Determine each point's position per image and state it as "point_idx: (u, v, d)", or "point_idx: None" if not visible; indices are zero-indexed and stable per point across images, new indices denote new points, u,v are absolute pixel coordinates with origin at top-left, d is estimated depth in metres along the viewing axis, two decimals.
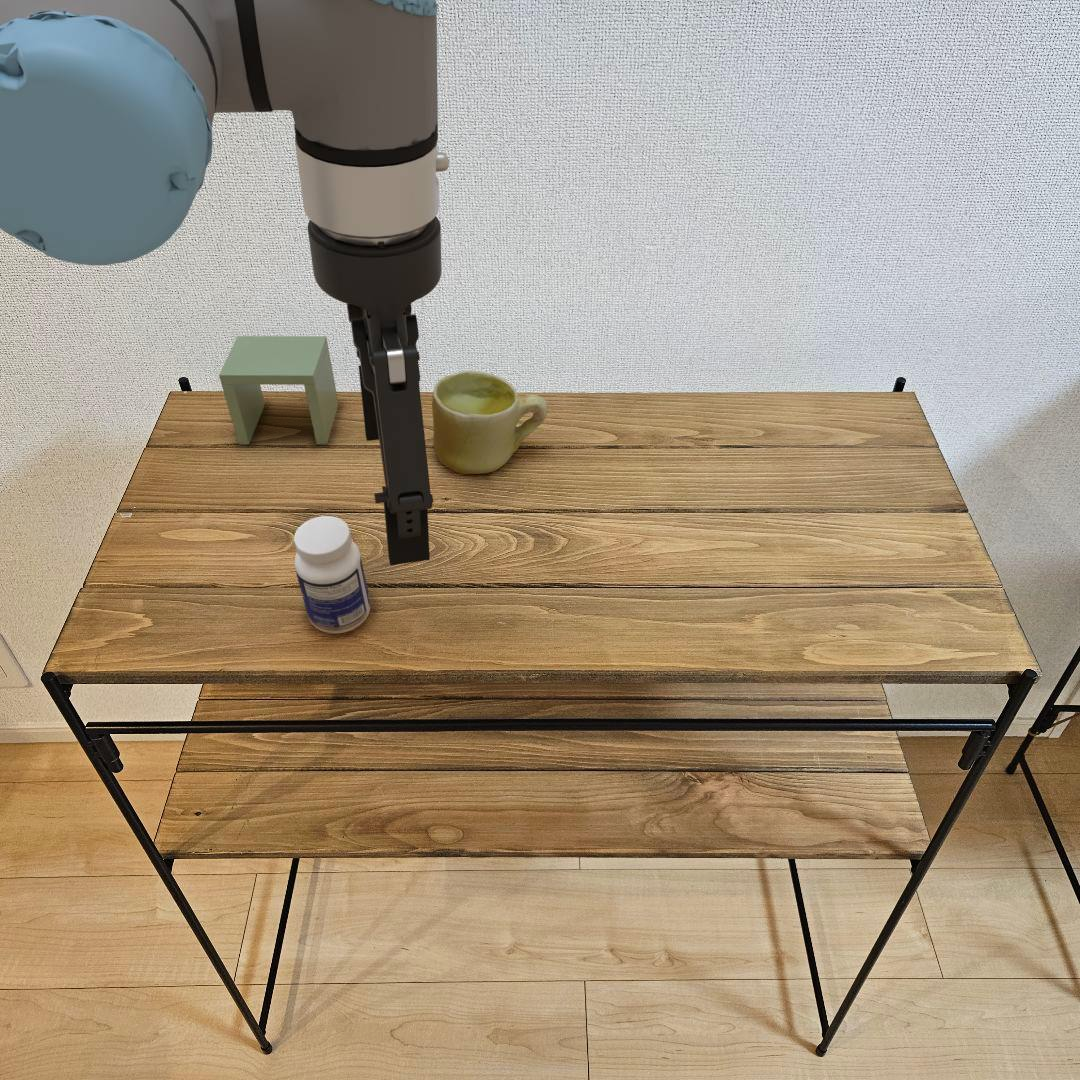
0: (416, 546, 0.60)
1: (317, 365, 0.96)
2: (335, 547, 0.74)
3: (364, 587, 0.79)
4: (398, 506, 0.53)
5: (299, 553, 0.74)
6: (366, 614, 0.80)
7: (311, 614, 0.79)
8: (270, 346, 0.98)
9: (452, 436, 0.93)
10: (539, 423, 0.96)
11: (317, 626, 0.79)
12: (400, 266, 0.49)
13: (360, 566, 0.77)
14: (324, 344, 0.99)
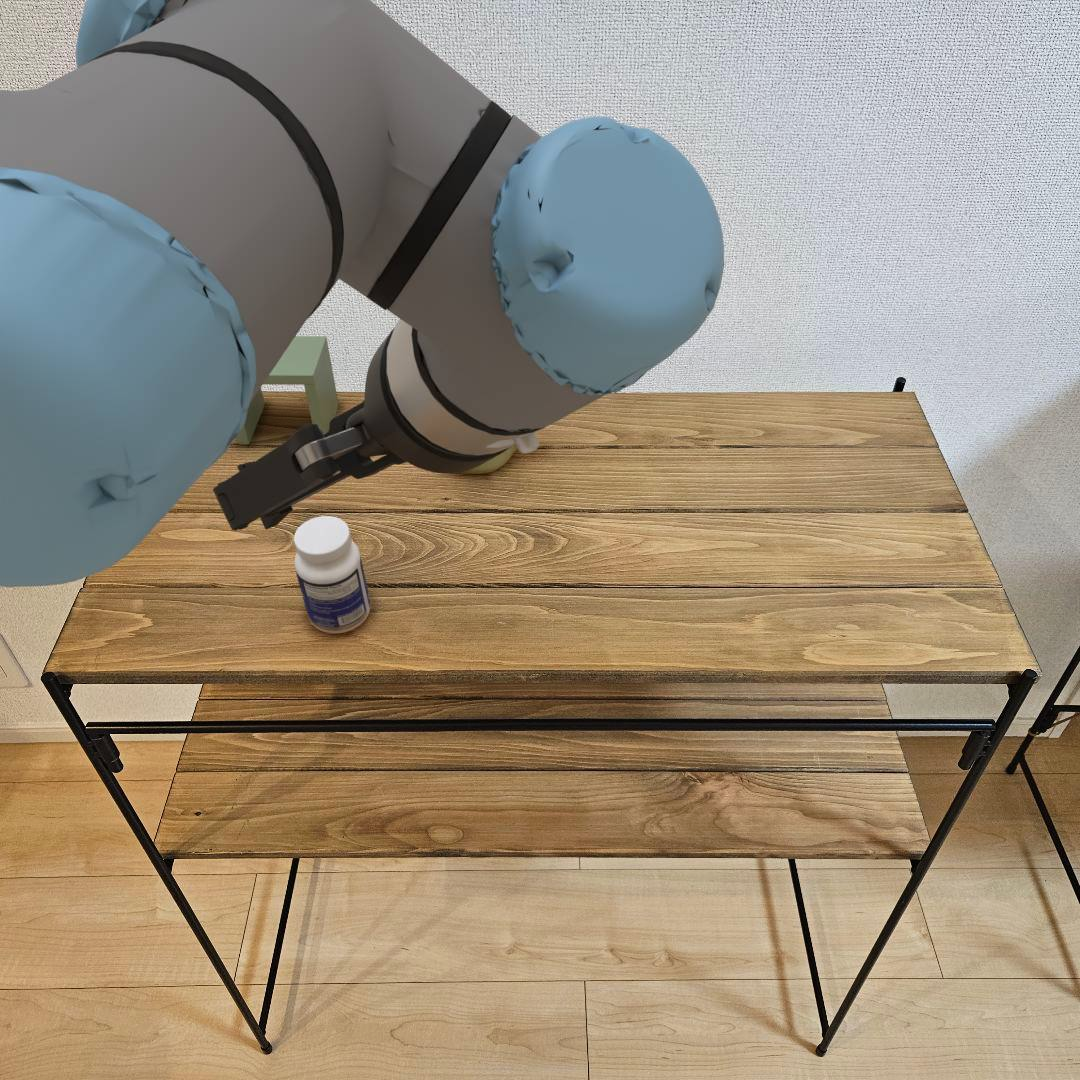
0: None
1: (317, 365, 0.96)
2: (335, 547, 0.74)
3: (364, 587, 0.79)
4: (217, 495, 0.47)
5: (299, 553, 0.74)
6: (366, 614, 0.80)
7: (311, 614, 0.79)
8: None
9: None
10: None
11: (317, 626, 0.79)
12: (395, 430, 0.39)
13: (360, 566, 0.77)
14: (324, 344, 0.99)
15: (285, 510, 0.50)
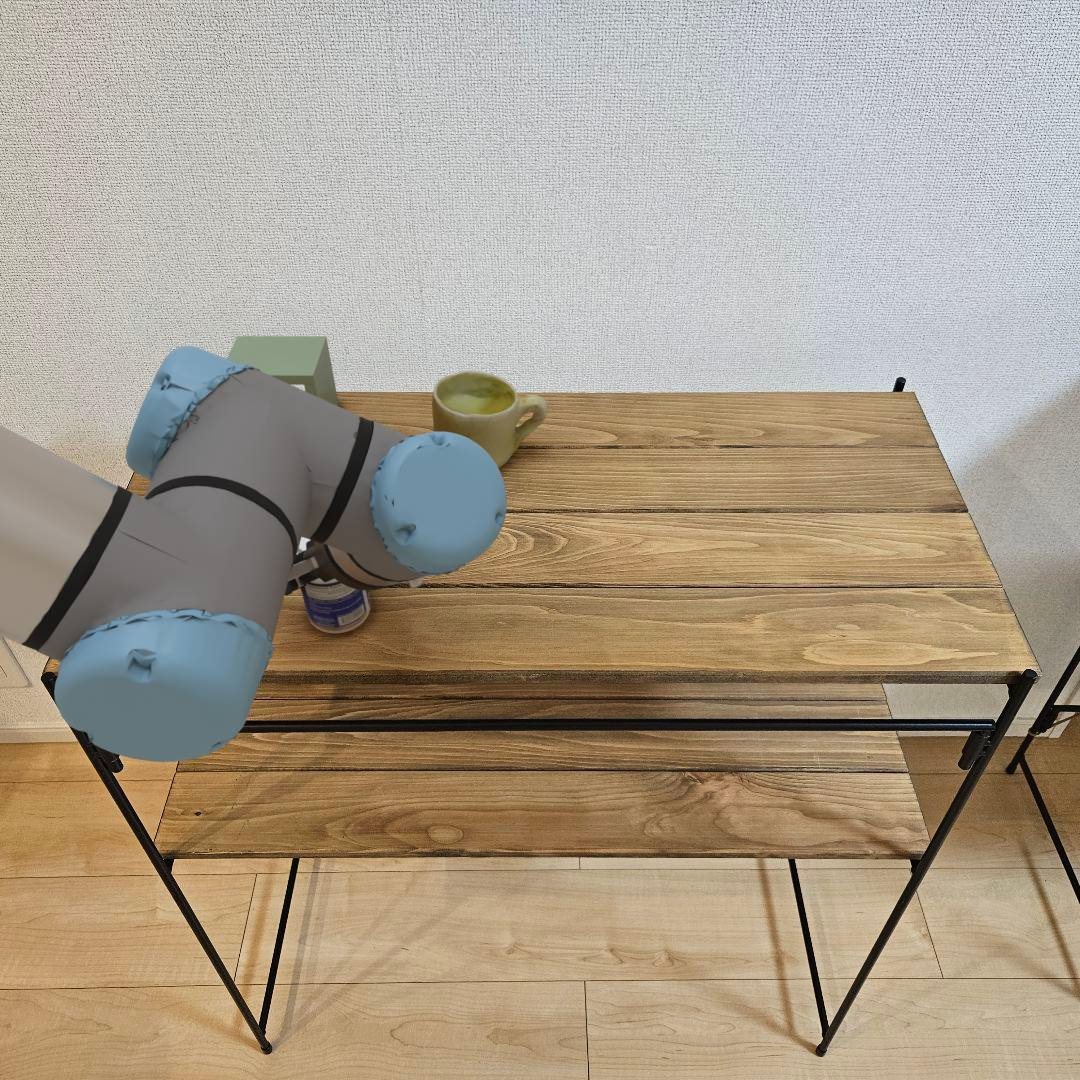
0: None
1: (317, 365, 0.96)
2: None
3: None
4: None
5: None
6: (366, 614, 0.80)
7: (311, 614, 0.79)
8: (270, 346, 0.98)
9: None
10: (539, 423, 0.96)
11: (317, 626, 0.79)
12: (332, 568, 0.60)
13: None
14: (324, 344, 0.99)
15: (301, 585, 0.74)
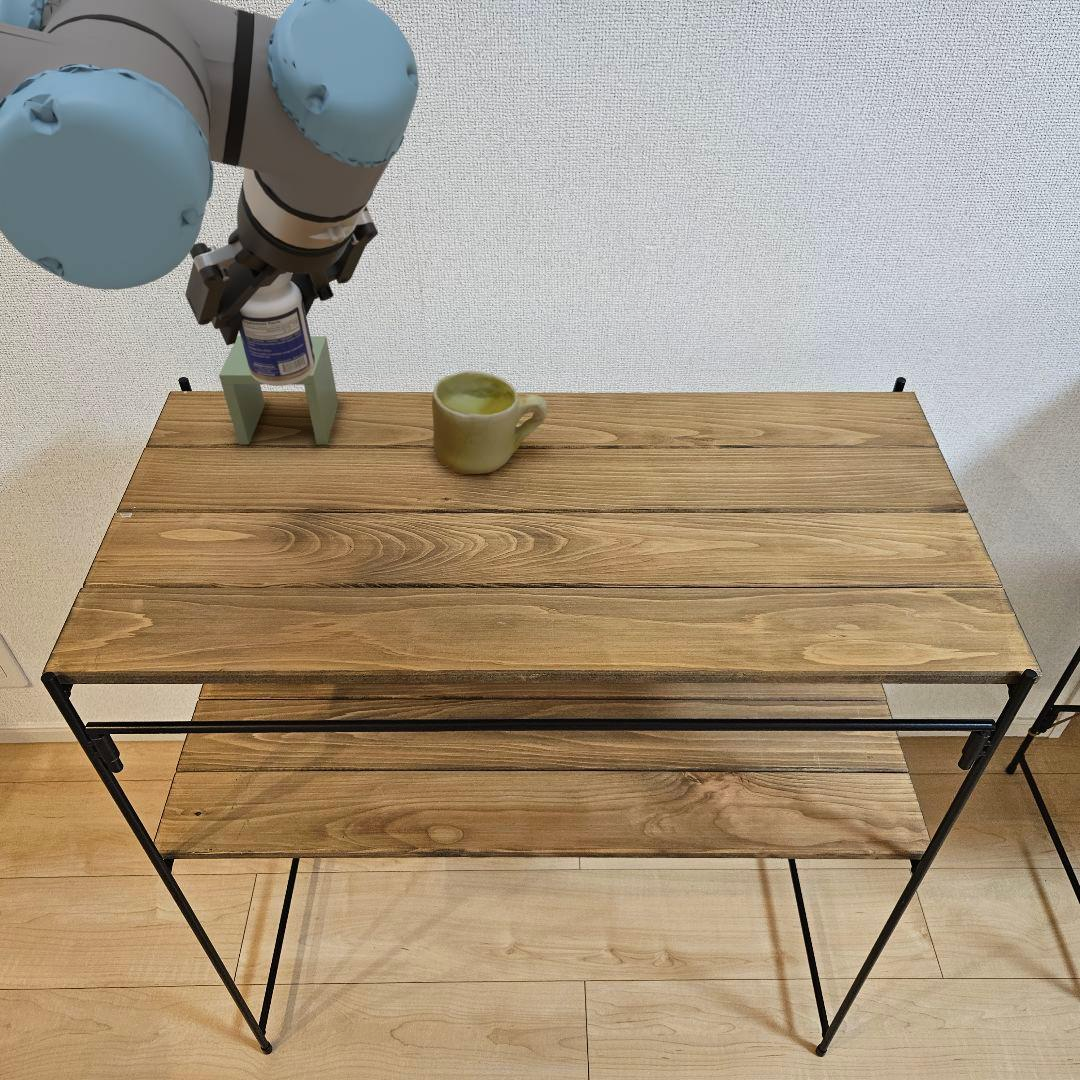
0: (224, 331, 0.76)
1: (317, 365, 0.96)
2: None
3: (307, 335, 0.76)
4: (188, 298, 0.69)
5: None
6: (310, 368, 0.77)
7: (251, 363, 0.76)
8: None
9: (452, 436, 0.93)
10: (539, 423, 0.96)
11: (258, 377, 0.76)
12: (253, 232, 0.57)
13: (301, 307, 0.74)
14: (324, 344, 0.99)
15: (237, 317, 0.71)
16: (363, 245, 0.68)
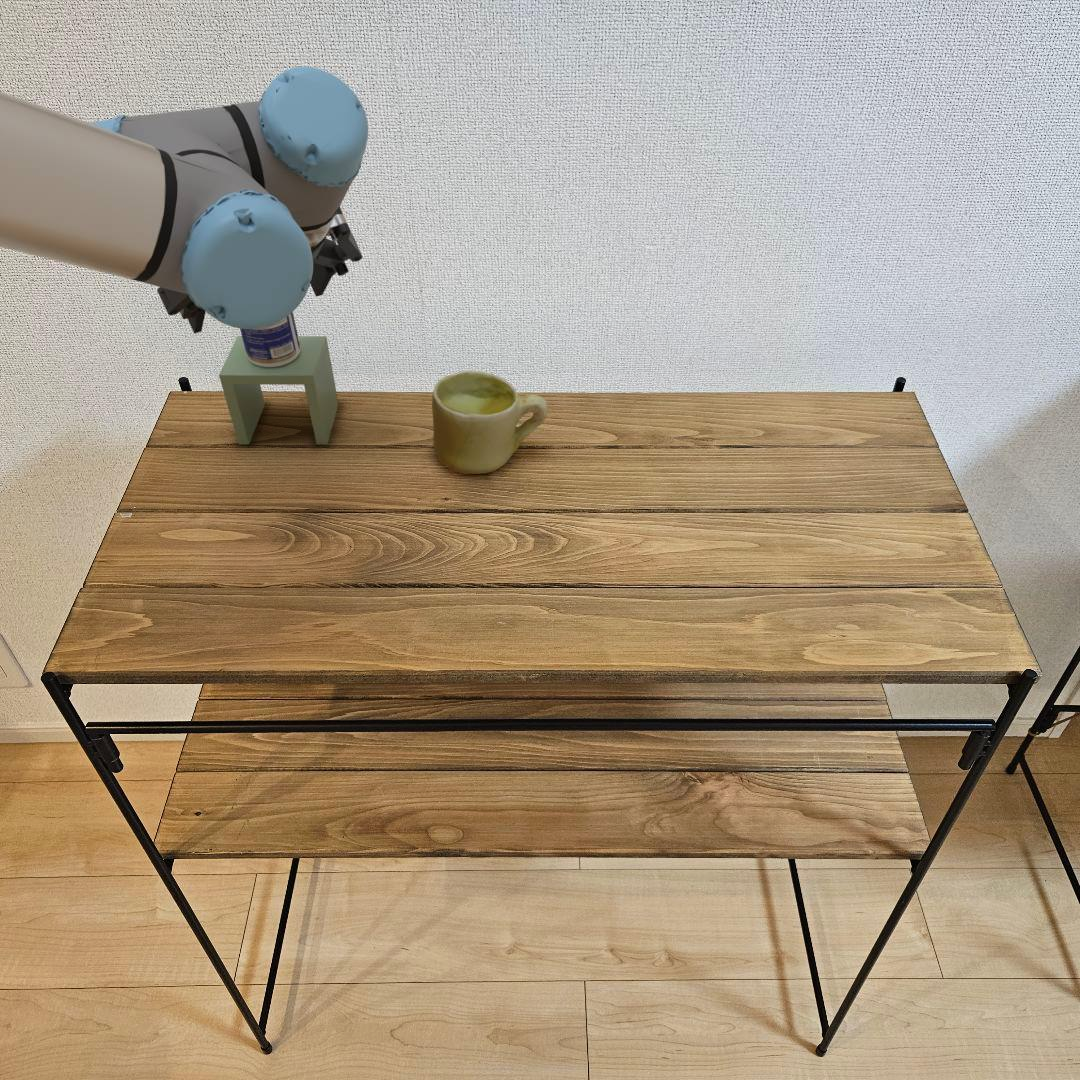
0: (191, 321, 0.90)
1: (317, 365, 0.96)
2: None
3: (293, 326, 0.94)
4: (159, 293, 0.83)
5: None
6: (296, 353, 0.95)
7: (248, 349, 0.94)
8: None
9: (452, 436, 0.93)
10: (539, 423, 0.96)
11: (254, 360, 0.94)
12: None
13: None
14: (324, 344, 0.99)
15: (201, 309, 0.86)
16: (346, 239, 0.84)
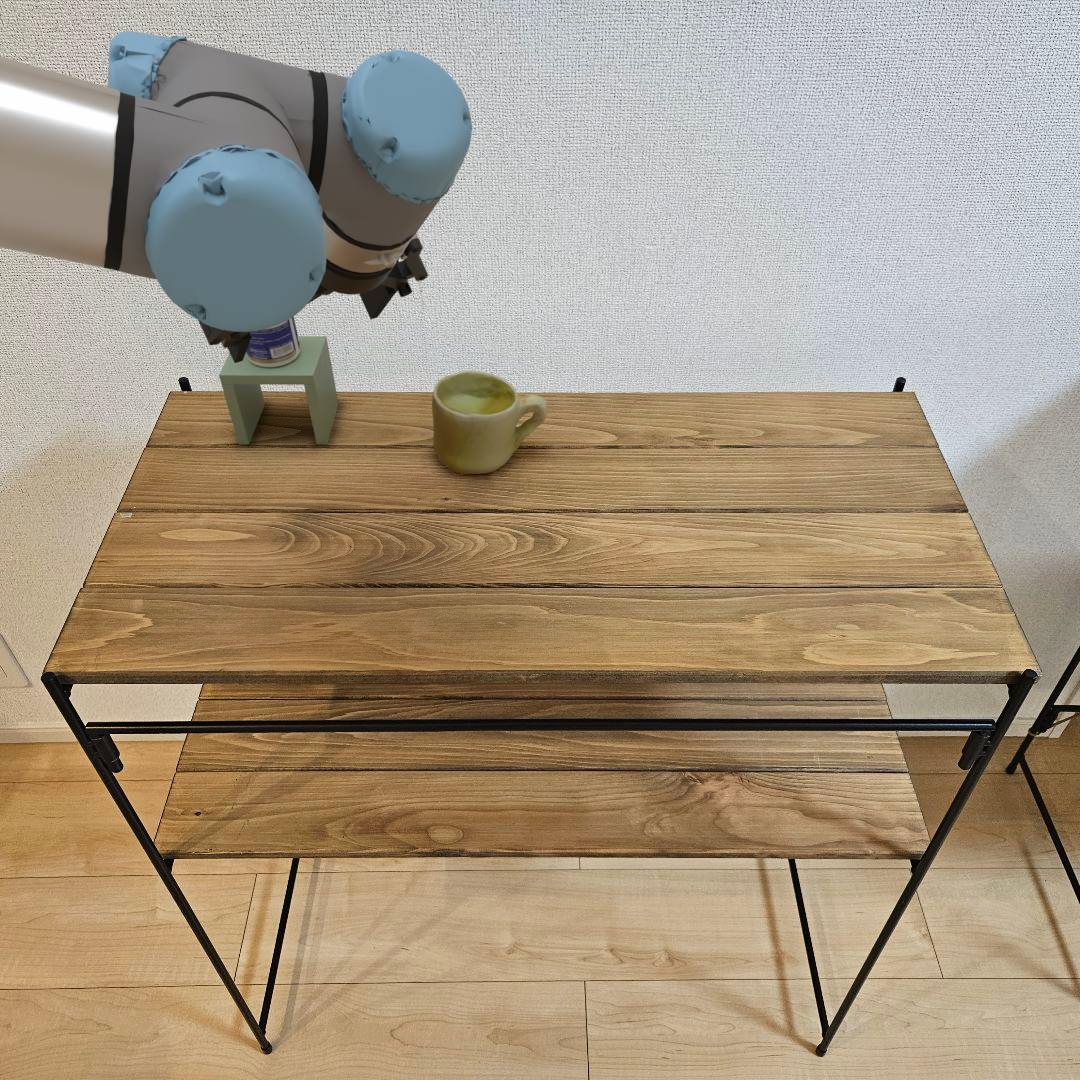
0: (232, 349, 0.78)
1: (317, 365, 0.96)
2: None
3: (293, 326, 0.94)
4: (199, 320, 0.71)
5: None
6: (295, 353, 0.95)
7: (248, 349, 0.94)
8: None
9: (452, 436, 0.93)
10: (539, 423, 0.96)
11: (253, 360, 0.94)
12: None
13: None
14: (324, 344, 0.99)
15: (246, 337, 0.74)
16: (415, 257, 0.72)
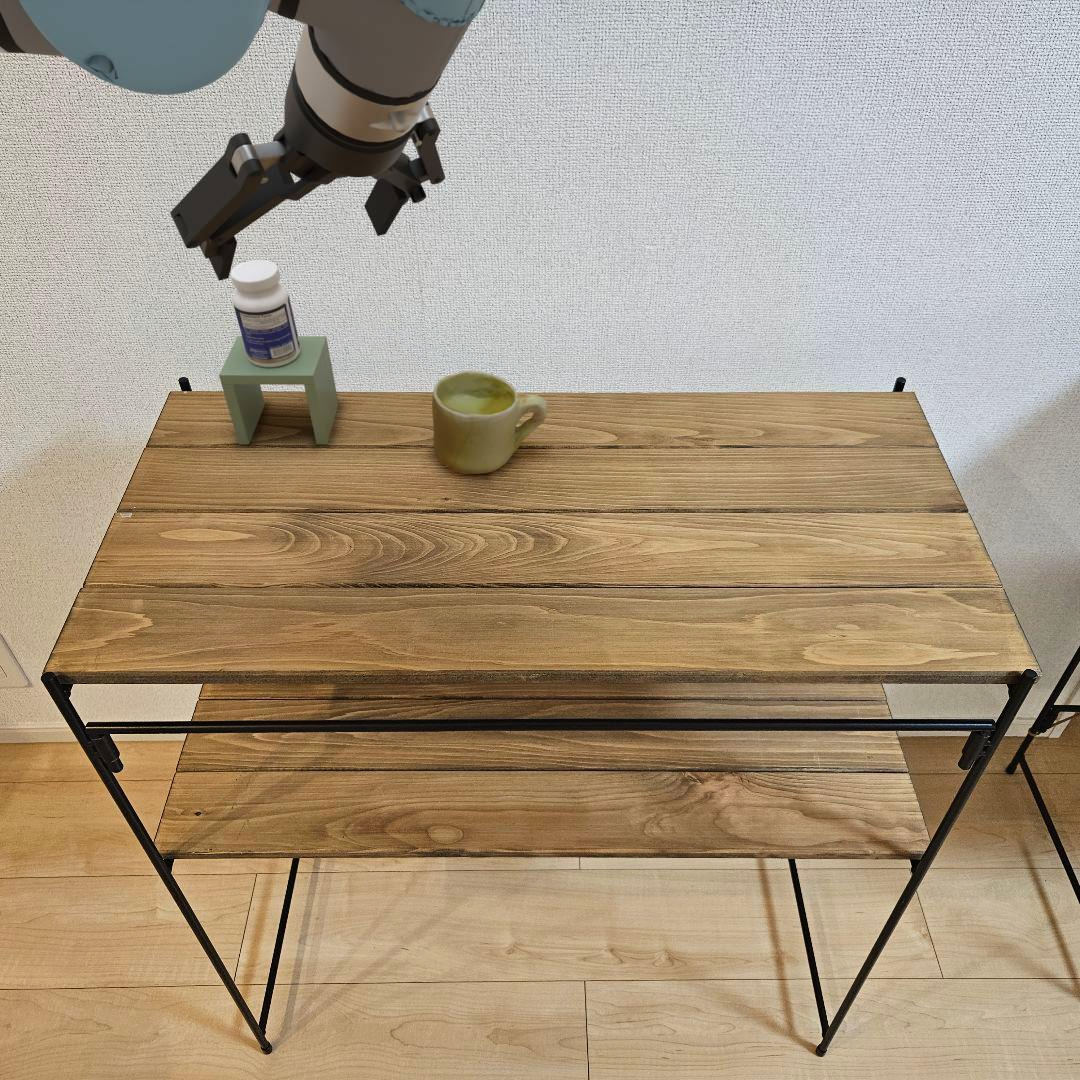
0: (215, 262, 0.66)
1: (317, 365, 0.96)
2: (265, 278, 0.89)
3: (293, 326, 0.94)
4: (173, 217, 0.59)
5: (235, 284, 0.89)
6: (295, 353, 0.95)
7: (248, 349, 0.94)
8: None
9: (452, 436, 0.93)
10: (539, 423, 0.96)
11: (254, 360, 0.94)
12: (304, 125, 0.51)
13: (288, 303, 0.92)
14: (324, 344, 0.99)
15: (231, 242, 0.62)
16: (431, 144, 0.61)
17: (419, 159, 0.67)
